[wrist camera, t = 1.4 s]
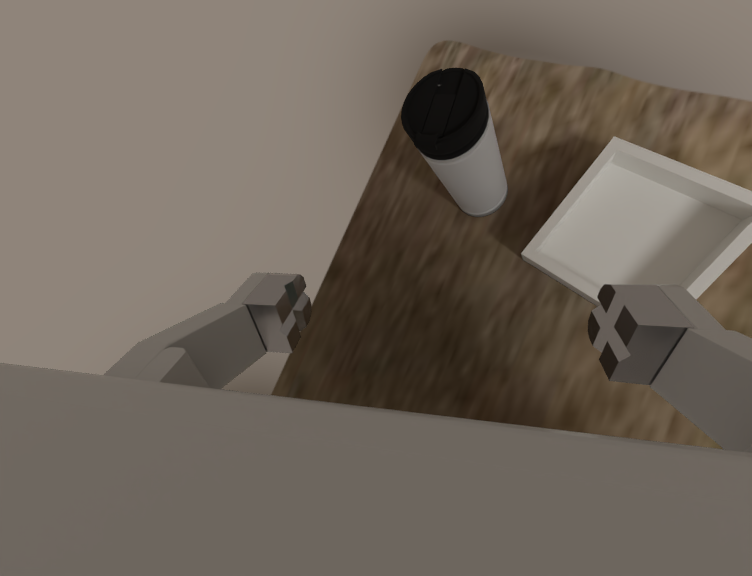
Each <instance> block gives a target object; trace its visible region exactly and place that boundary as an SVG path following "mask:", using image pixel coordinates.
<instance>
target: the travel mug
mask: <svg viewBox="0 0 752 576" xmlns="http://www.w3.org/2000/svg"><path fill="white" fill-rule="evenodd" d="M401 119H402V125H403V127H404V130H405V131H406V132H407V134H408V135H409V137H410V138H411V139H412V141H413V142H414V145H415V146H416V148H417V149H418V150H419V152H420V153H421V155H422V156H423V157H424V159H425V160H426V161H427V163H428V164H429V166H430V167H431V168H432V170H433V171H434V172H435V174H436V175H437V177H438V178H439V179H440V181H441V182H442V184H443V185H444V186H445V188H446V189H447V190H448V192H449V193H450V195H451V196H452V197H453V199H454V200H455V201H456V203H457V204H458V206H459V207H460V208H461V210H462V211H463V212H465V213H466V214H468V215H470V216H474V217H482V216H487V215H489V214H491V213H493V212H495V211H496V210H498V209H499V208H500V207H501V206H502V204H503V203H504V201H505V199H506V196H507V192H508V186H507V182H506V178H505V173H504V169H503V165H502V160H501V156H500V152H499V148H498V143H497V139H496V135H495V131H494V126H493V122H492V118H491V113H490V109H489V105H488V102H487V100H486V96H485V92H484V87H483V83H482V81H481V79H480V77H479V76H478V75H477V74H476V73H475V72H474V71H471V70H468V69H465V70H464V69H463V68H449V69H445V70H443V71H442V69H440V70H437V71H434V72H431V73H430V74H428V75H426V76H425V77H423V78H422V79H421V80H420V81H419V82H418V83H417V84H416V85H415V86H414V87H413V88H412V89H411V91H410V92H409V94H408V95H407V97H406V99H405V101H404V104H403V107H402V113H401Z"/></svg>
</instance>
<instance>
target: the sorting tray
mask: <svg viewBox="0 0 752 576" xmlns="http://www.w3.org/2000/svg"><path fill="white" fill-rule="evenodd" d="M751 243H752V191H750V190H747V189H745V188H742V187H740V186H737V185H735V184H732V183H730V182H727V181H725V180H722V179H720V178H717V177H715V176H712V175H710V174H707V173H705V172H702V171H700V170H697V169H695V168H692V167H690V166H687V165H685V164H682V163H680V162H677V161H675V160H672V159H670V158H667V157H665V156H662V155H660V154H657V153H655V152H652V151H650V150H647V149H645V148H642V147H640V146H637V145H635V144H632V143H630V142H627V141H625V140H622V139H620V138H617V137H615V136H614V137H613V139H612V140H611V141H610V142H609V144H608V145H607V146H606V147H605V149H604V150H603V151H602V152H601V154H600V155H599V156H598V157H597V159H596V160H595V161H594V162H593V164H592V165H591V166H590V167H589V169H588V170H587V171H586V172H585V174H584V175H583V176H582V178H581V179H580V180H579V181H578V183H577V184H576V185H575V186H574V188H573V189H572V190H571V191H570V193H569V194H568V195H567V196H566V198H565V199H564V200H563V201H562V203H561V204H560V205H559V206H558V208H557V209H556V210H555V211H554V213H553V214H552V215H551V216H550V218H549V219H548V220H547V221H546V223H545V224H544V225H543V227H542V228H541V229H540V230H539V232H538V233H537V234H536V235H535V237H534V238H533V239H532V240H531V242H530V243H529V244H528V245H527V247H526V248H525V249H524V250H523V252H522V253H521V255H522V259H523V260H524V261H526V262H528V263H529V264H531V265H532V266H534V267H536V268H537V269H539V270H540V271H542V272H543V273H545V274H547V275H548V276H550V277H551V278H553V279H555V280H556V281H558V282H559V283H561V284H563V285H564V286H566V287H567V288H569V289H570V290H572V291H574V292H575V293H577V294H578V295H580V296H582V297H583V298H585V299H586V300H588V301H590V302H591V303H593V304H594V305H596V306H597V307H598V306H599V305H601V303H600V302H599V300H598V298H597V296H598V294H599V291H600V289H601V288H602V287H603V285H604V284H629V285H652V284H675V285H679V286H682V287H684V288H685V289H686V290H687V291H688V292H689V293H690V294H691V295H692V296H693V297H694V298H695V299H697V298H698V297H699V296H700V295H701V294H702V293H703V292H704V291H705V290H706V289H707V288H708V287H709V286H710V285H711V284H712V283H713V282H714V281H715V280H716V279H717V278H718V277H719V276H720V275H721V274H722V273H723V271H724V270H725V269H726V268H727V267H728V266H729V265H730V264H731V263H732V262H733V261H734V260H735V259H736V258H737V257H738V256H739V255H740V254H741V253H742V252H743V251H744V250H745V249H746V248H747V247H748V246H749V245H750V244H751Z"/></svg>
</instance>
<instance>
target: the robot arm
mask: <svg viewBox="0 0 752 576" xmlns="http://www.w3.org/2000/svg"><path fill="white" fill-rule="evenodd" d="M305 288H306V284H305V281H304V277H302V276H301V275H299V274H280V273H253V274H252V275H251V276H250V277H249V278H248V279H247V280H246V281H245V282H244V283H243V285H242V286H241V287H240V288H239V289H238V290H237V291H236V292H235V293H234V294H233V295H232V296H231V298H230V299H229V300H228V301H227V302H226V303H225V304H224V303H220V304H218V305H216V306H214V307H212V308H210V309H208V310H205V311H203V312H201V313H199V314H197V315H195V316H193V317H191V318H189V319H187V320H185V321H183V322H180V323H178V324H176V325H174V326H172V327H170V328H168V329H166V330H164V331H162V332H159V333H157V334H155V335H153V336H151V337H149V338H147V339H145V340H143V341H141V342H139V343H137V344H136V345H135V346H134V347H133V348H132V349H131V350H130V351H129V352H128V353H126V354H125V355H124V356H123V357H122V358H121V359H120V360H119V361H118V362H117V363H116V364H115V365H113V367H111V368H110V369H109V370H108V371H107V372H106V373H105V374H104V375H96V374H88V373H79V372H72V371H63V370H54V369H47V368H37V367H30V366H21V365H13V364H5V363H0V576H752V339H751V338H749V337H747V336H745V335H743V334H741V333H738V332H736V331H729V330H725V329H724V328H723V327H722V326H721V325H720V324H719V323H718V322H717V321H716V320H715V319H714V318H713V317H712V316H711V314H710V313H709V312H708V311H707V310H706V309H705V308H704V307H703V306H702V305H701V304H700V303H699V302H698V301H697V300H696V299H695V298H694V297H693V296H692V295H691V294H690V293H689V292H688V291H687V290H686V289H685V288H684V287H682V286H679V285H675V284H652V285H629V284H604V285H603V287H602V288H601V289H600V291H599V294H598V296H597V298H598V300H599V302H600V303H601V305H599V306H598V307H596V308H595V309H593V310H592V311H591V314H590V317H589V320H588V334H589V339H590V341H591V343H592V345H593V347H595V348H596V349H598V350H599V351H601V352H602V354H601V356H600V358H599V360H600V362H601V365H602V367H603V369H604V371H605V373H606V375H607V377H608V379H609V381H617V382H626V383H635V384H644V385H651V386H650V387H651V388H652V389H653V390H654V391H656V392H657V393H658V394H659V395H660V396H661V397H663V398H664V399H665V400H666V401H667V402H669V403H670V404H671V405H672V406H673V407H675V408H676V409H677V410H678V411H679V412H681V413H682V414H683V415H684V416H685V417H686V418H688V419H689V420H690V421H691V422H692V423H694V424H695V425H696V426H697V427H698V428H700V429H701V430H702V431H703V432H704V433H706V434H707V435H708V436H709V437H710V438H711V439H713V440H714V441H715V442H716V443H717V444H719V445H720V446H721V447H722V448H723V449H715V448H707V447H699V446H690V445H682V444H674V443H665V442H657V441H649V440H640V439H632V438H624V437H615V436H607V435H599V434H590V433H582V432H573V431H565V430H557V429H548V428H540V427H532V426H523V425H515V424H507V423H498V422H490V421H482V420H473V419H465V418H457V417H448V416H440V415H432V414H423V413H415V412H407V411H398V410H390V409H381V408H373V407H365V406H356V405H348V404H340V403H331V402H323V401H314V400H306V399H298V398H289V397H281V396H273V395H263V394H255V393H248V392H239V391H231V390H222V389H221V388H223V387H224V386H225V385H227V384H228V383H229V382H230V381H232V380H233V379H234V378H235V377H237V376H238V375H239V374H241V373H242V372H243V371H244V370H246V369H247V368H248V367H249V366H251V365H252V364H253V363H254V362H256V361H257V360H258V359H260V358H261V357H262V356H263V355H265V354H266V352H282V353H293V351H294V349H295V348H296V346H297V344H298V342H299V340H300V338H301V335H300V332H299V331H301V330H302V329H304V328H305V327H307V325H308V323H309V321H310V317H311V312H312V309H311V302H310V298H309V297H308V296H307V295H306V294H305V293H304V292H303V291H304V289H305ZM724 449H725V450H724Z"/></svg>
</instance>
